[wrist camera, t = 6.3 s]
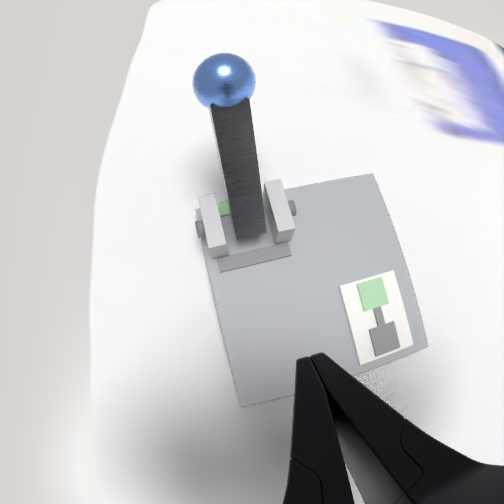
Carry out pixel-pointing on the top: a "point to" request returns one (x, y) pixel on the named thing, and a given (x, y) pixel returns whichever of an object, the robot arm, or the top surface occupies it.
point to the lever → (234, 136)
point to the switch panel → (310, 284)
